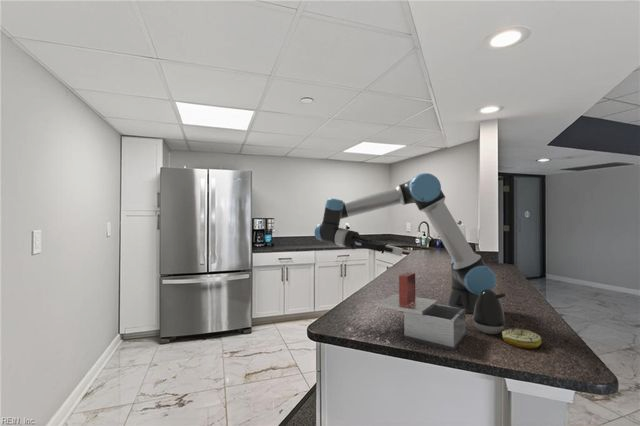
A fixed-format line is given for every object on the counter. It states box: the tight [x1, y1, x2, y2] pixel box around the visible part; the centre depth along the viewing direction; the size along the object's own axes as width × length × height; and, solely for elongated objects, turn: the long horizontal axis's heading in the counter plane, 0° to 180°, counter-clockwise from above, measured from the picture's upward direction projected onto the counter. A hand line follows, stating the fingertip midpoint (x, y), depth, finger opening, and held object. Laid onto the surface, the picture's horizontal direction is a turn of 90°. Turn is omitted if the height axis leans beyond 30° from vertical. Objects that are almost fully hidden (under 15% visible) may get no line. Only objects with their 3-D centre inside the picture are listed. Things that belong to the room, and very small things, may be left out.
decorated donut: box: [501, 328, 542, 350], centre depth 101 cm, size 10×11×4 cm
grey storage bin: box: [403, 303, 467, 351], centre depth 107 cm, size 16×16×9 cm
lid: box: [376, 272, 439, 315], centre depth 113 cm, size 17×17×11 cm
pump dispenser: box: [472, 289, 506, 335], centre depth 111 cm, size 10×10×15 cm
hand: (401, 252), depth 117 cm, fingers closed
